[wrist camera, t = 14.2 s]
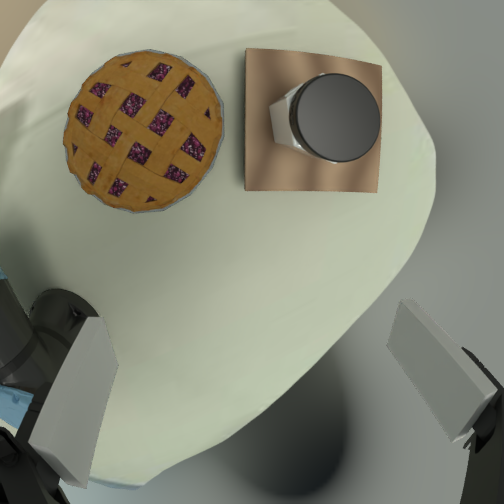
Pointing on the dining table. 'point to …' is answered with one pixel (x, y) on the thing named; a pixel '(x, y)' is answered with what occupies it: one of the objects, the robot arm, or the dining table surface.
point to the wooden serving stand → (285, 159)
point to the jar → (327, 118)
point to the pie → (144, 131)
